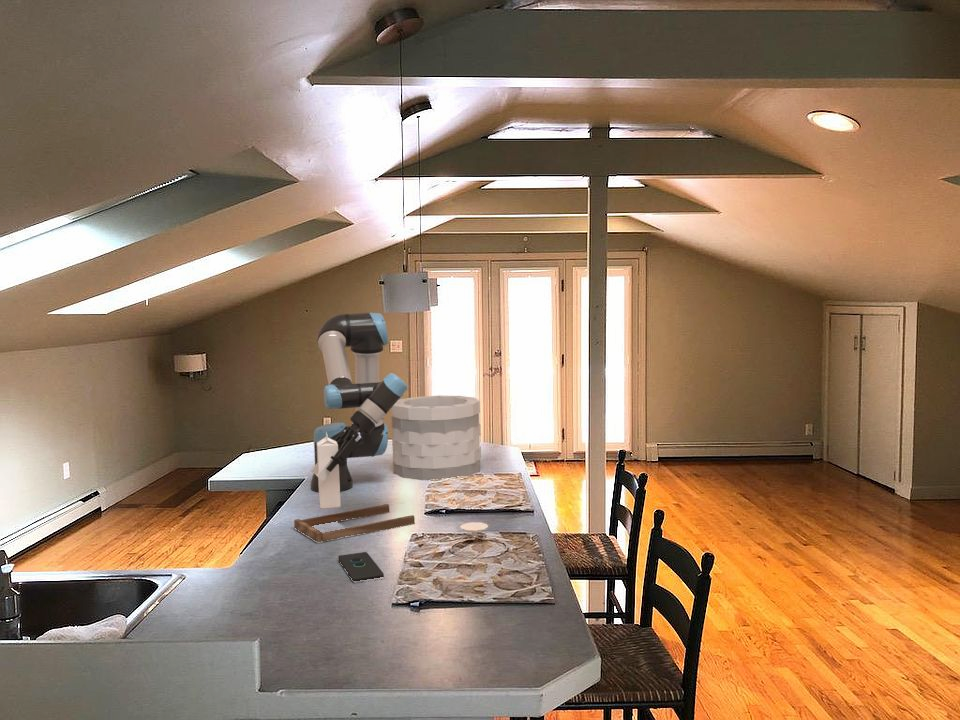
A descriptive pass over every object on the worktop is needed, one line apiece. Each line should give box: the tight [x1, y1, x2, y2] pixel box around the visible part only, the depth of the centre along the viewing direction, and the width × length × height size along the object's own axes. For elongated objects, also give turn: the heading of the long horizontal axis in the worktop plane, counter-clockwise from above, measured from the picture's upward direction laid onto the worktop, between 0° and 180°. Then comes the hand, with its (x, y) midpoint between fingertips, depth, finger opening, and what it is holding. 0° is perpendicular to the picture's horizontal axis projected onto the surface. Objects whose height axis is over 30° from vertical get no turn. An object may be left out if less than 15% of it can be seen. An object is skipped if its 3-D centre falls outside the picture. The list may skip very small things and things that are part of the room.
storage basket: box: [390, 395, 482, 481], centre depth 337 cm, size 35×35×27 cm
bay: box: [293, 503, 416, 542], centre depth 262 cm, size 18×32×3 cm, turn 124°
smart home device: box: [337, 551, 385, 581], centre depth 224 cm, size 8×2×20 cm
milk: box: [317, 432, 342, 509], centre depth 256 cm, size 6×6×22 cm
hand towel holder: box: [459, 521, 500, 539], centre depth 240 cm, size 17×4×20 cm
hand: (316, 475), depth 255 cm, fingers closed on milk, 7 cm apart
